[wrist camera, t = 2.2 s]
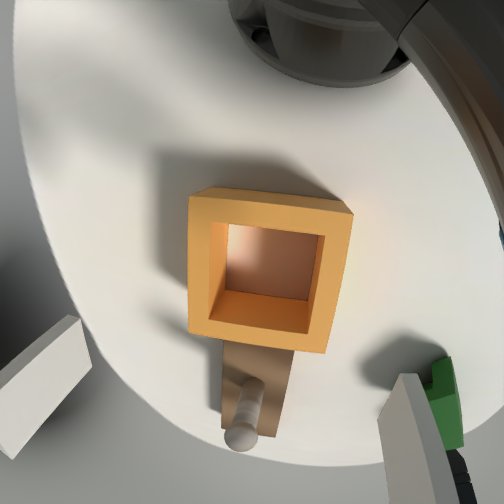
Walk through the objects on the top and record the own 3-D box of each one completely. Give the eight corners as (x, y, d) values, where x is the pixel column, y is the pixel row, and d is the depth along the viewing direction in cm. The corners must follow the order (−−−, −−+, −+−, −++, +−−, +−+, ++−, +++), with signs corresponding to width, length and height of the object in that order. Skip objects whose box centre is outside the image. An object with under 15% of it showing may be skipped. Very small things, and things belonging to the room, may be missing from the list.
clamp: (400, 357, 30) (389, 395, 22) (448, 341, 27) (452, 376, 19) (419, 436, 28) (409, 482, 20) (462, 424, 25) (463, 470, 17)
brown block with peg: (229, 315, 26) (195, 389, 17) (297, 325, 25) (290, 406, 16) (225, 415, 31) (202, 482, 22) (277, 424, 30) (265, 494, 21)
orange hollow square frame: (211, 186, 23) (188, 196, 18) (343, 201, 22) (353, 214, 17) (208, 302, 26) (188, 332, 22) (322, 318, 25) (324, 353, 20)
